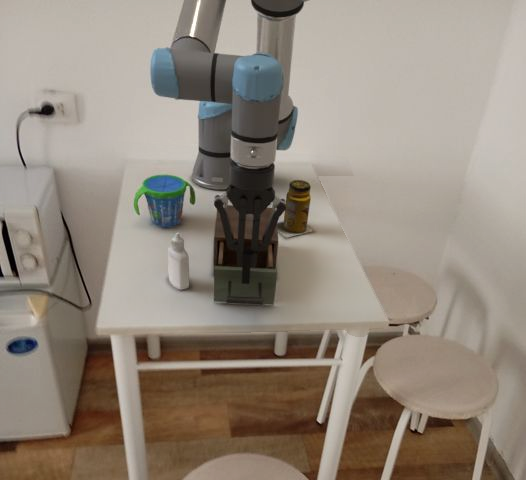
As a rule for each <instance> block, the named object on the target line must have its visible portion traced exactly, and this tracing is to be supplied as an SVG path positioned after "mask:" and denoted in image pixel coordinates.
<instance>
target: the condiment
mask: <svg viewBox="0 0 526 480" xmlns="http://www.w3.org/2000/svg"><path fill="white" fill-rule="evenodd" d="M311 197H312V196H311V184H310V183H309V182H308V181H306V180H303V179H302V180H301V179H294V180H291V181H290V182H289V185H288V191H287V193H286V197H285V201H286V210H285V211H284V213H283V215H284V216H283V221H281V222H280V221H279V222H277V230H278V234H281V236H283V237H284V238H291V237H295V236H299V235H300V236H301V235H303V234H309V233H311V232H314V230H313V229H312V228H311V227H308V222H309V220H308V219H309V213H310V204H311Z"/></svg>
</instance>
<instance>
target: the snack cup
mask: <svg viewBox="0 0 526 480" xmlns="http://www.w3.org/2000/svg"><path fill="white" fill-rule="evenodd" d="M188 187H189V203H190V204H191V205H192V206H194V205H195V204H196V191H195V189H194V187H193V186H192V184H190V183H189V181H186V180H184V179H183V178H182V177H179V176H177V175H172V174H155V175H151V176H148V177H147V178H145V179H144V180H143V181H142V185H141V187H140V188H139V189H137V191H136V193H135V194H134V198H133V207H134V208H133V209H134V211H135V213H136V215H138V216H140V215H141V213H140V210H139V209H140V208H139V205H138V203H139V199H141V197H142V195H144V197H145V200H146V203H147V209H148V212H149V213H148V214H149V217H150V221H151V223H152V224H153V225H156V226H157V227H161V228H172V227H174V226H178V225H179V224H180V223H181V221H182V216H183V211H184V202H185V193H186V192H187V188H188Z"/></svg>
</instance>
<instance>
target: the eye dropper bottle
mask: <svg viewBox="0 0 526 480" xmlns="http://www.w3.org/2000/svg"><path fill="white" fill-rule="evenodd" d="M184 240H185V239H184V238H183V237H182V236H181V235H180V232H178V231H177V232H175V236H174V237H172V238H171V246H169V247H168V249H167V266H168V267H167V270H168V281H169V283H170V285H171V286H172V287H174V288H175V289H178V290H181V291H182V290H185V289H188V288H190V261H189V260H190V259H189V254H188V252H187V250H186V249H185V241H184Z"/></svg>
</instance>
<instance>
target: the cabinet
mask: <svg viewBox="0 0 526 480" xmlns="http://www.w3.org/2000/svg"><path fill="white" fill-rule="evenodd" d="M227 209H228V214H229V218H230V223H231V227H232V232H233V236H234V240H236V241H238V223H239V212H238V211H237V210H236V209H235V208H234V206H233V205H232V204H228V206H227ZM272 210H273V209H272V207H267V208H266V209H265V210H264V211H263V212H262V213H261V214H260V227H259V241H258V242H260V241H261V240H262V237H263V235H264V232H265V229H266V226H267V223H268V220H269V218H270V215H271V212H272ZM252 224H253V215H252V214H246V220H245V237H244V242H251V240H252ZM213 233H214V234H213V235H214V236H213V277H214V266H218V261H219V249H220V241H226V238H225V234H224V230H223V226H222V221H221V217H220V213H219V212H218V210H217V209H216V215H215V225H214V232H213ZM270 243H272V256H273V269H277V258H278V248H279V232H278V230H277V225H276V228H275V230H274V233H273V236H272V239H271V241H270Z"/></svg>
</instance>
